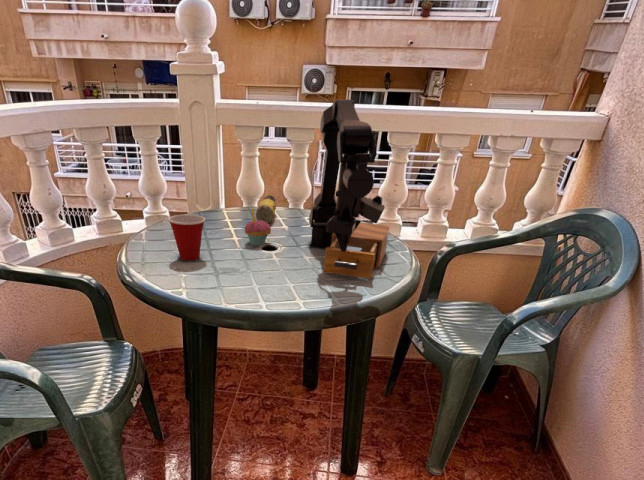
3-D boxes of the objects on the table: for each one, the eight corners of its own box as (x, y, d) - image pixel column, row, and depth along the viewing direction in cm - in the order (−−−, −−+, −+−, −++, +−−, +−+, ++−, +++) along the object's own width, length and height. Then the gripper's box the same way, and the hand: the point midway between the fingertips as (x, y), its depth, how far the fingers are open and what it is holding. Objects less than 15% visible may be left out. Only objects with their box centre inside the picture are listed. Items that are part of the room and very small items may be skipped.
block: (342, 266, 139) (343, 251, 136) (345, 260, 142) (347, 246, 139) (357, 268, 137) (359, 253, 135) (360, 262, 141) (362, 247, 138)
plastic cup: (214, 254, 151) (212, 214, 144) (196, 266, 143) (192, 225, 136) (184, 248, 155) (181, 210, 148) (165, 260, 147) (160, 219, 140)
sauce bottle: (275, 211, 171) (281, 195, 186) (258, 204, 170) (266, 188, 186) (268, 228, 175) (274, 210, 190) (252, 221, 174) (259, 203, 189)
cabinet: (378, 269, 142) (382, 240, 137) (329, 262, 146) (332, 234, 141) (385, 253, 152) (389, 225, 147) (339, 247, 156) (342, 220, 151)
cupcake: (251, 249, 155) (251, 210, 147) (240, 241, 161) (239, 203, 153) (275, 245, 158) (276, 206, 151) (263, 237, 164) (263, 199, 157)
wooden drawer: (368, 284, 131) (371, 260, 127) (319, 277, 135) (321, 253, 131) (378, 262, 144) (381, 239, 140) (333, 256, 147) (336, 234, 143)
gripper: (378, 199, 105) (368, 269, 114) (390, 180, 119) (381, 243, 128) (328, 194, 108) (322, 262, 117) (346, 176, 122) (339, 238, 131)
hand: (343, 251), depth 123 cm, fingers closed
